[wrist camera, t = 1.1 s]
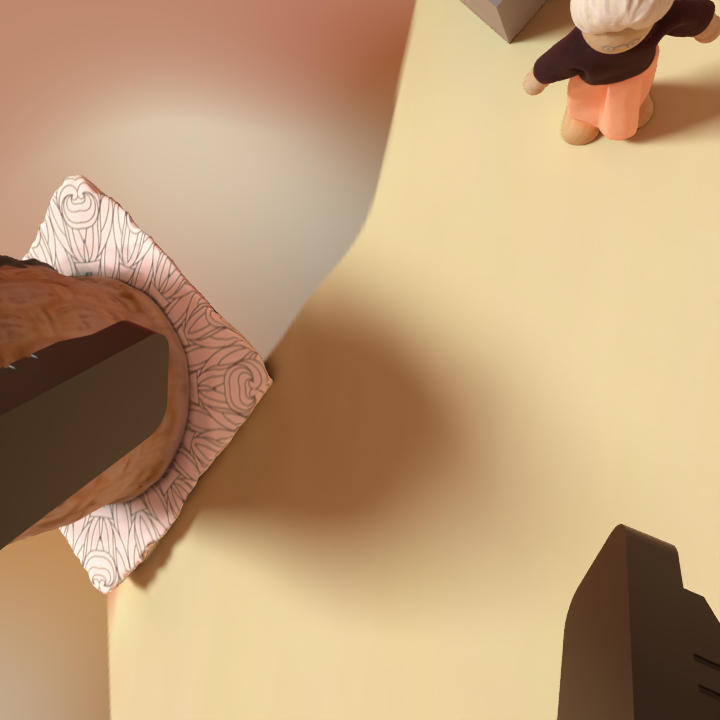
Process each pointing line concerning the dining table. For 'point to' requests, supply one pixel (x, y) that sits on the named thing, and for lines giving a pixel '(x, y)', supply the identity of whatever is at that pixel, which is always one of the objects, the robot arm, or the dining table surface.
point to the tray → (505, 14)
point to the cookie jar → (185, 371)
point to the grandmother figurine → (616, 61)
